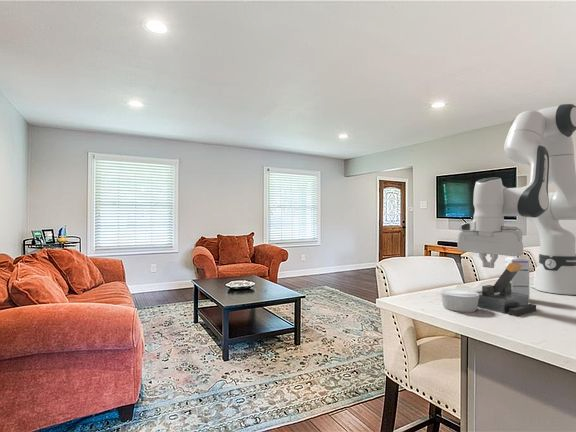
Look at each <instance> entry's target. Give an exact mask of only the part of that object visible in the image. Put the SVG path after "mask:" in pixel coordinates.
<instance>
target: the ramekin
mask: <svg viewBox="0 0 576 432" xmlns="http://www.w3.org/2000/svg"><path fill="white" fill-rule="evenodd" d="M474 291H475V290H469V289H468V290H467V289H461V288H445V289H441V290H440V292H439V293H440V295H441V301H442V306H443V308H444V309H446V310H449V311H453V312H457V313H474V312H475V311H477V309H478V307H477V305H478V299H479V297H480V295H479V293H477V292H474Z"/></svg>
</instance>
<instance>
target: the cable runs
mask: <svg viewBox="0 0 576 432" xmlns="http://www.w3.org/2000/svg"><path fill="white" fill-rule="evenodd" d="M536 311H537V304H533V303H528V304H527V305H523V306H519V307H514V308H510V309H509V312H508V315H509V316H513V317H518V316H522V315H525V314H529V313H533V312H536Z"/></svg>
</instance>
